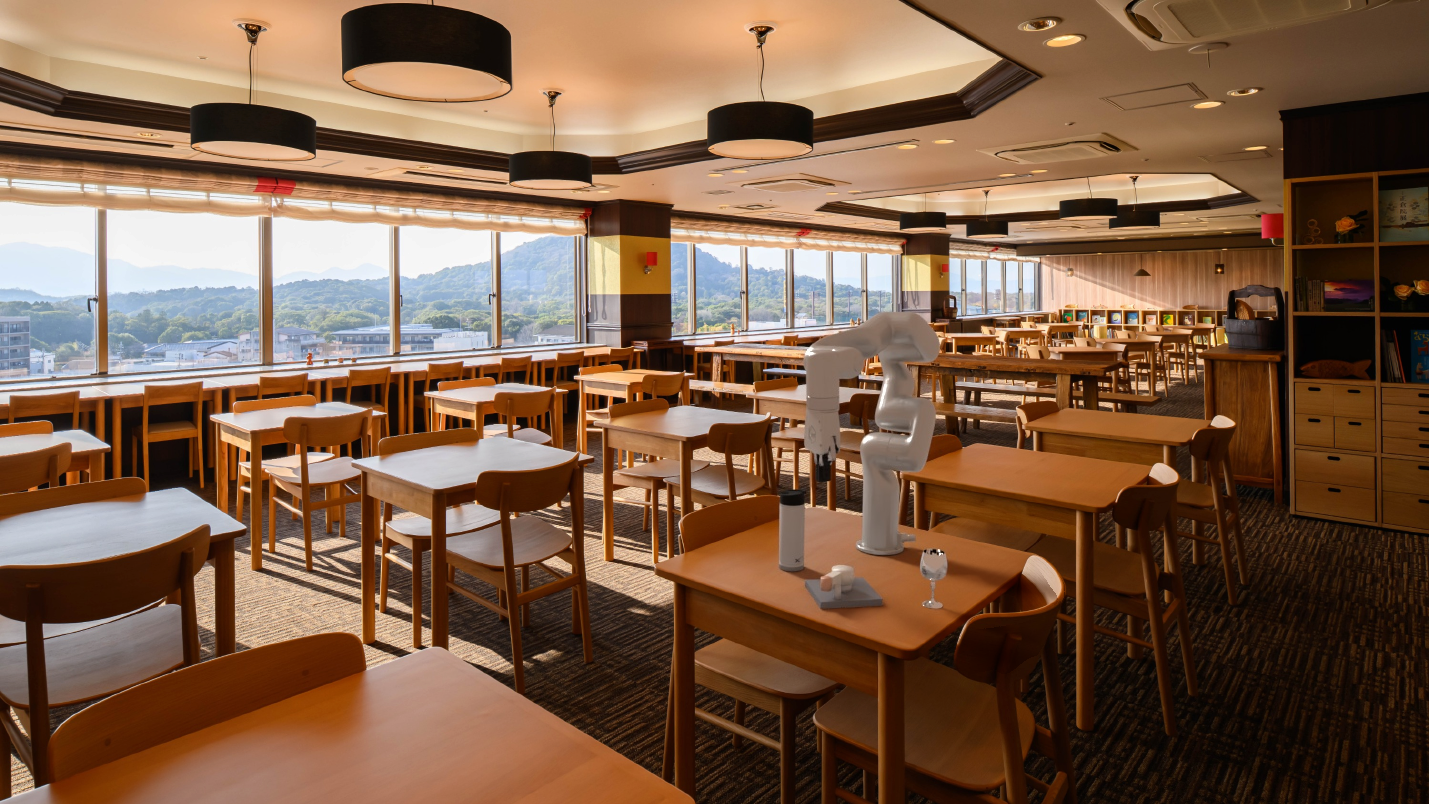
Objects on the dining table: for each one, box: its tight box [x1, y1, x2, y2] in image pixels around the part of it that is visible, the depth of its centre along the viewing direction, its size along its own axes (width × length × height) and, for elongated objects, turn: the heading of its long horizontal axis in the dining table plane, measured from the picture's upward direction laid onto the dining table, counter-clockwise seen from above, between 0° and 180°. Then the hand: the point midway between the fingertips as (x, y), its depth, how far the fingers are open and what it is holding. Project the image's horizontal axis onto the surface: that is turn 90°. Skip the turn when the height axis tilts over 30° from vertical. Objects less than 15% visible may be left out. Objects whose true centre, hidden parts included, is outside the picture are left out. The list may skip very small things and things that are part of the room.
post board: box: [804, 576, 884, 610], centre depth 179 cm, size 14×14×4 cm
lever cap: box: [820, 564, 855, 592], centre depth 176 cm, size 11×5×3 cm, turn 142°
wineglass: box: [919, 548, 948, 610], centre depth 173 cm, size 6×6×12 cm
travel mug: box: [778, 488, 807, 573], centre depth 196 cm, size 6×7×20 cm
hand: (823, 480), depth 184 cm, fingers closed
